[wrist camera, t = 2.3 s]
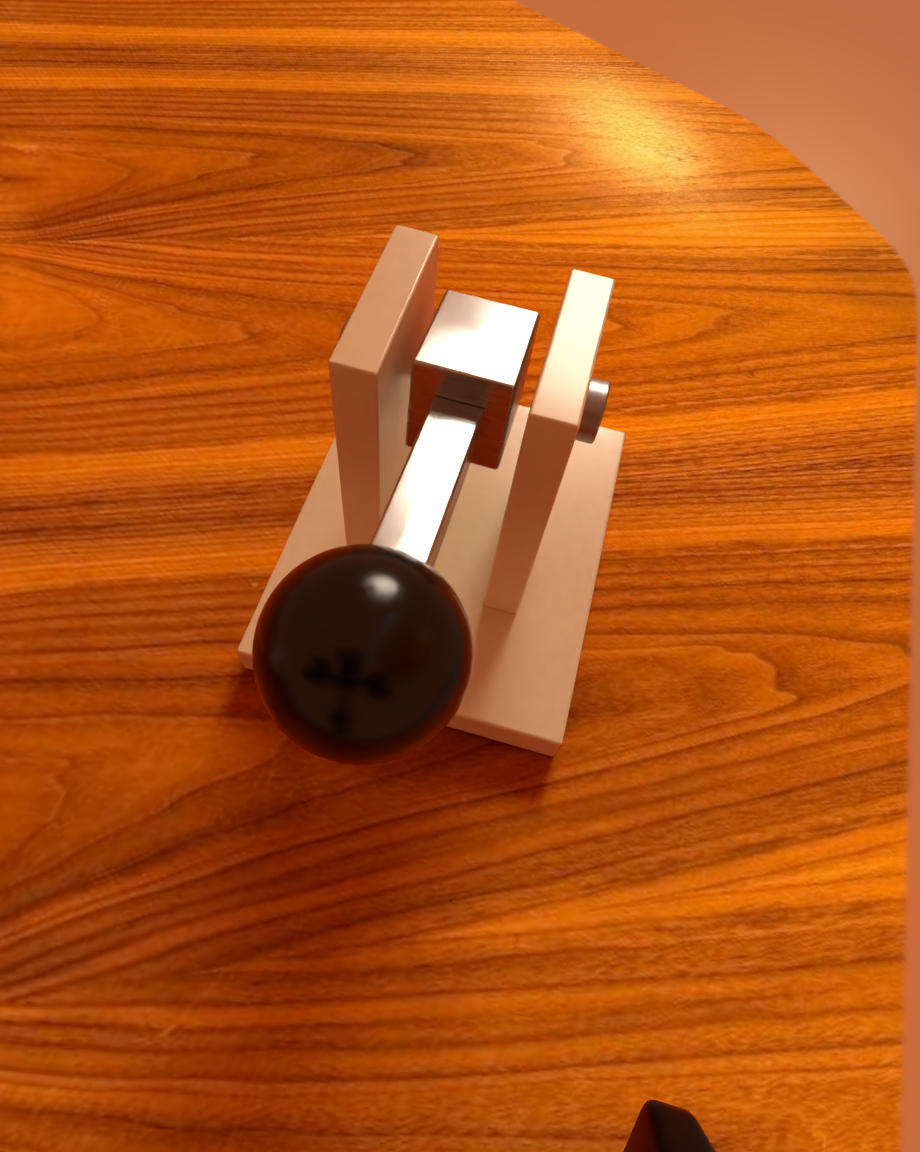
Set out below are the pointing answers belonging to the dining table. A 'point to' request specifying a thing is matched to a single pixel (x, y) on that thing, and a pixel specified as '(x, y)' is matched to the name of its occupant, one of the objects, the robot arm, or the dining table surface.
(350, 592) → the lever
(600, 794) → the dining table surface
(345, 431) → the bracket
